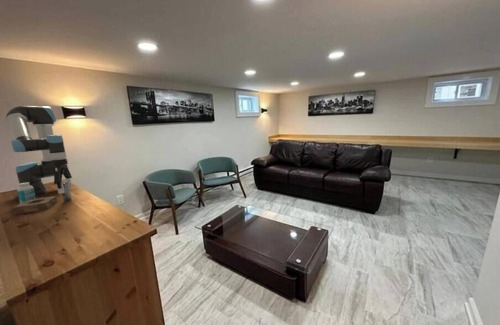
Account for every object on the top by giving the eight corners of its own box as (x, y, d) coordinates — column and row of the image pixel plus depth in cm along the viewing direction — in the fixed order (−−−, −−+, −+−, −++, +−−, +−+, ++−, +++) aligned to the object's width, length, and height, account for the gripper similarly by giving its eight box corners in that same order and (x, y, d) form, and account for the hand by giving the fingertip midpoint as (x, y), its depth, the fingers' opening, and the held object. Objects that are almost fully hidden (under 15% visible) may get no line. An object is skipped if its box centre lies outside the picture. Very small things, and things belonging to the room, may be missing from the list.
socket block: (28, 205, 131) (27, 199, 131) (57, 201, 137) (55, 195, 136) (15, 214, 119) (13, 207, 118) (47, 209, 124) (45, 203, 124)
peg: (65, 200, 139) (61, 183, 137) (72, 199, 141) (69, 182, 139) (62, 202, 136) (59, 184, 134) (70, 200, 137) (66, 183, 135)
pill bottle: (28, 204, 133) (22, 184, 130) (16, 205, 133) (11, 185, 130) (39, 200, 140) (35, 181, 137) (29, 200, 140) (24, 181, 138)
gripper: (59, 157, 143) (65, 186, 147) (41, 162, 120) (49, 196, 124) (73, 156, 146) (78, 184, 150) (58, 161, 123) (65, 194, 127)
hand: (65, 190), depth 137 cm, fingers open, 13 cm apart
